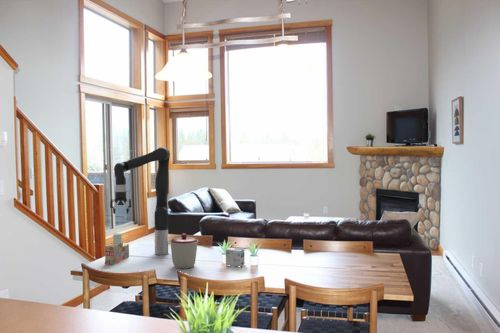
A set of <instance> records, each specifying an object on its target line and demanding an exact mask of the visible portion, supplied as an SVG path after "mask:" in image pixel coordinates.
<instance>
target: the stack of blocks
mask: <svg viewBox="0 0 500 333" xmlns="http://www.w3.org/2000/svg"><path fill="white" fill-rule="evenodd" d="M129 247H130V244H129V243H124V242H122V243H121V244H113V242H112V243H110V244H106V245H105V246H104V262H105V263H104V265H105V264H108V265H107V266H115V265H117V264H119V263H121V262H122V261H124V260H127V259H128V258H129V257H130V248H129Z"/></svg>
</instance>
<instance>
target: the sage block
mask: <svg viewBox="0 0 500 333" xmlns="http://www.w3.org/2000/svg"><path fill="white" fill-rule="evenodd" d="M122 235H123V234H122V232H115V233H113V235H112V239H113V242H112V243H113V244H121V243H122V241H123V240H122V239H123V237H122Z"/></svg>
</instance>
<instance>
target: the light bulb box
mask: <svg viewBox="0 0 500 333" xmlns="http://www.w3.org/2000/svg"><path fill="white" fill-rule="evenodd" d="M244 264H246V263H245V248H241V247H228V248H226V249H225V266H226V265H230V266H229V267H231V266H240V267H239V268H242V267H244V266H245V265H244ZM243 265H244V266H243ZM241 266H242V267H241Z"/></svg>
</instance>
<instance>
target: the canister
mask: <svg viewBox="0 0 500 333" xmlns="http://www.w3.org/2000/svg"><path fill="white" fill-rule="evenodd" d="M168 243H169V244H170V251H171V259H172V265H173V266H174V268H176V269H182V270H183V269H191V268H193V267H194V266H195V264H196V261H197V260H196V258H197V250H198V243H199V240H198V238H196V237H193V236H188V235H187V233H184V232H183V233H181V235H180V236H177V237H174V238H171V240H168Z"/></svg>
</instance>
